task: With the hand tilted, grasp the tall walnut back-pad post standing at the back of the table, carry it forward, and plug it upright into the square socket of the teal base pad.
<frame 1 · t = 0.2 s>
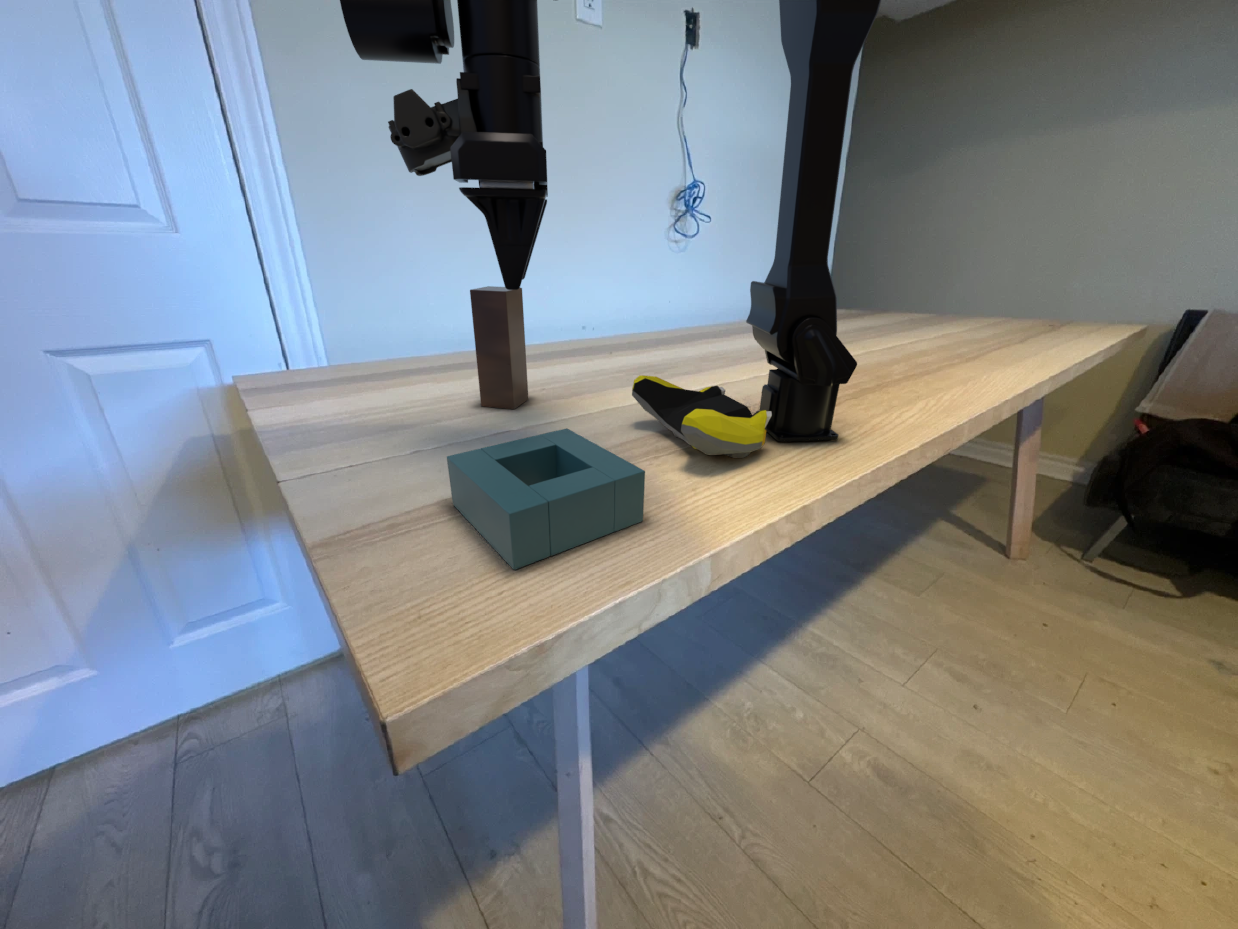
hand: (515, 283, 45), 15 cm above the table, tool pointing down, fingers open, 9 cm apart
pad post: (505, 402, 62), on the table
base pad: (545, 512, 38), on the table
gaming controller: (698, 442, 51), on the table
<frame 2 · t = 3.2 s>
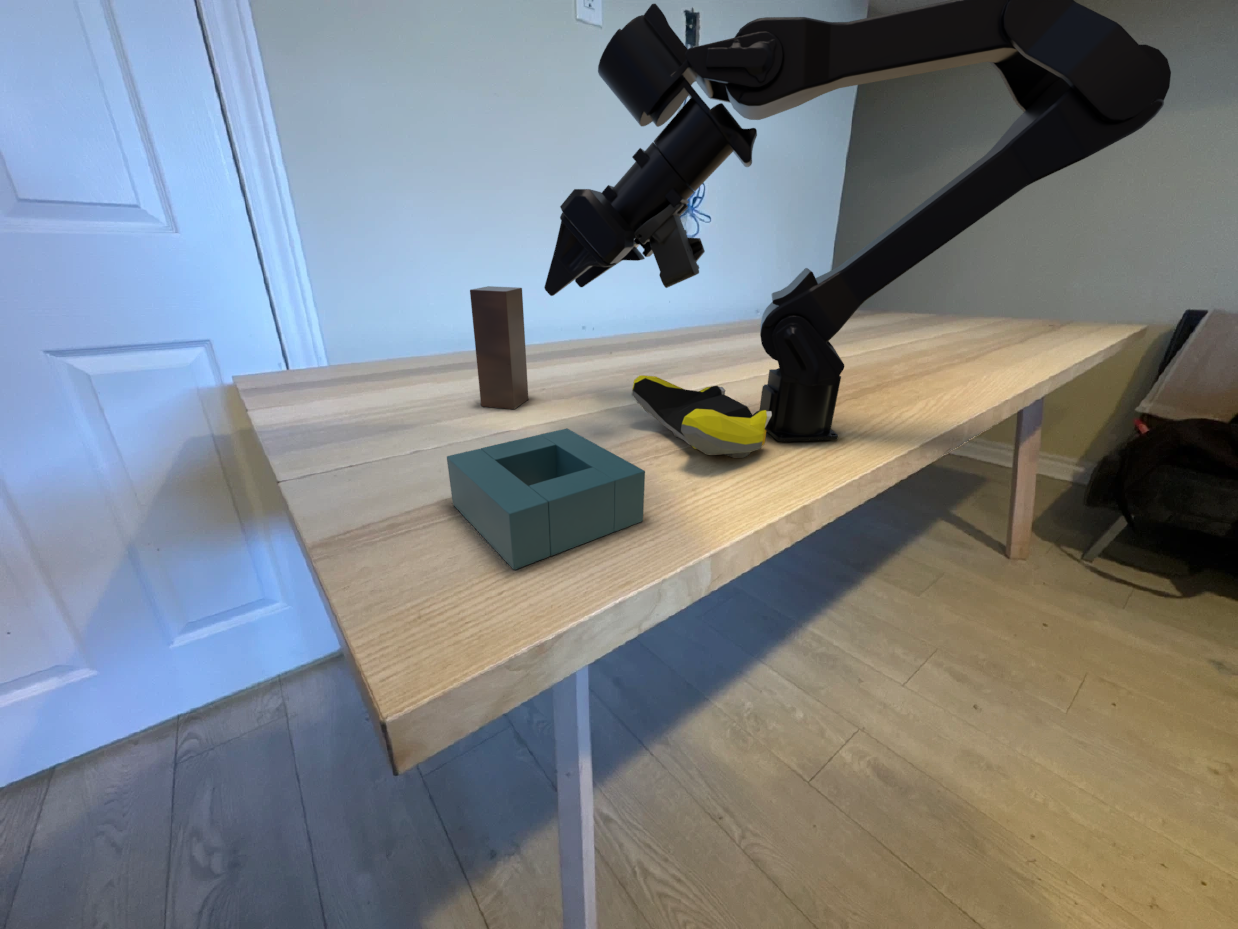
hand: (564, 288, 55), 13 cm above the table, tool tilted 45°, fingers open, 9 cm apart
nothing on the table moved.
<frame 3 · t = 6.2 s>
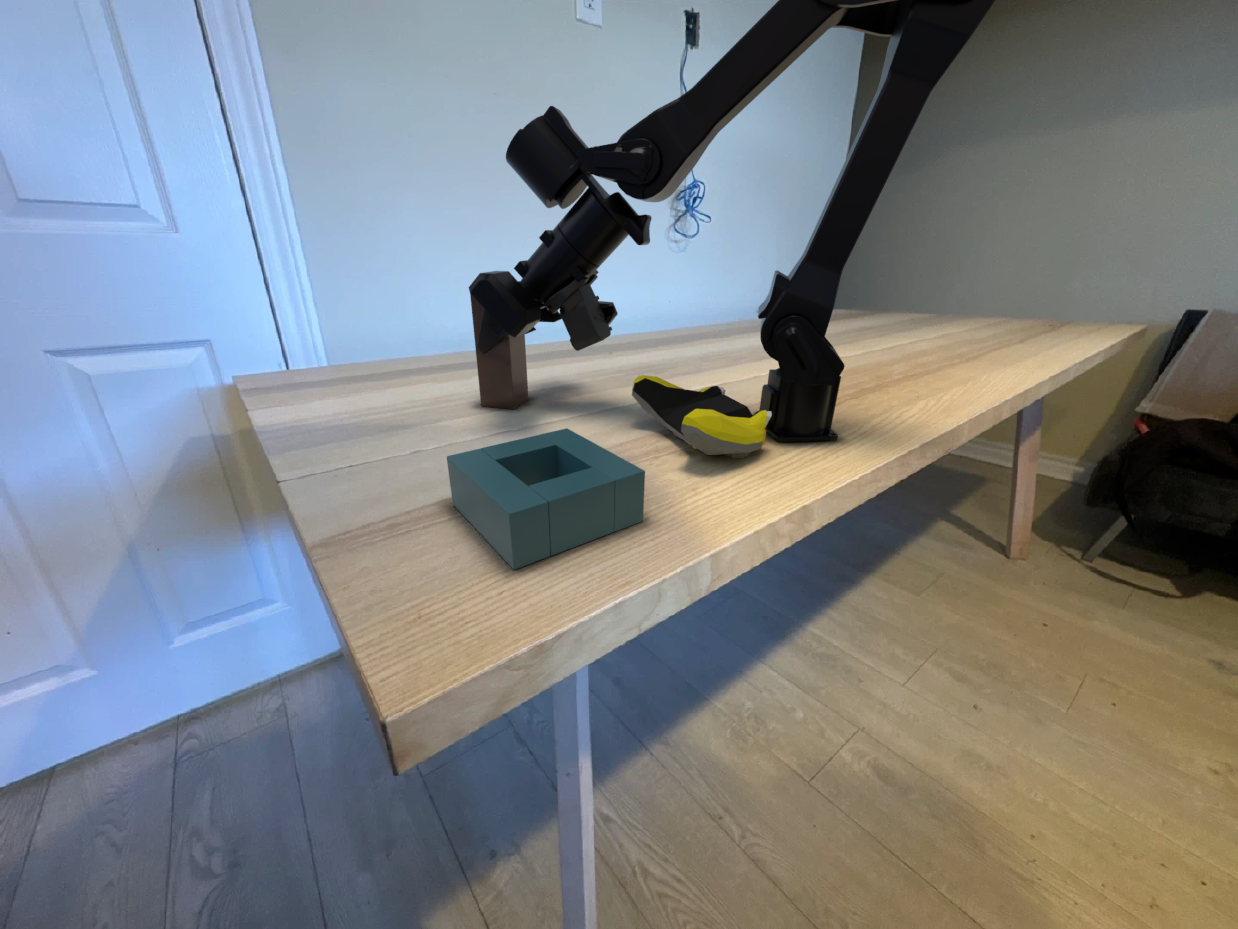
hand: (489, 346, 59), 7 cm above the table, tool tilted 45°, fingers closed on pad post, 4 cm apart
pad post: (505, 402, 62), on the table, touching gripper
everything else where it was.
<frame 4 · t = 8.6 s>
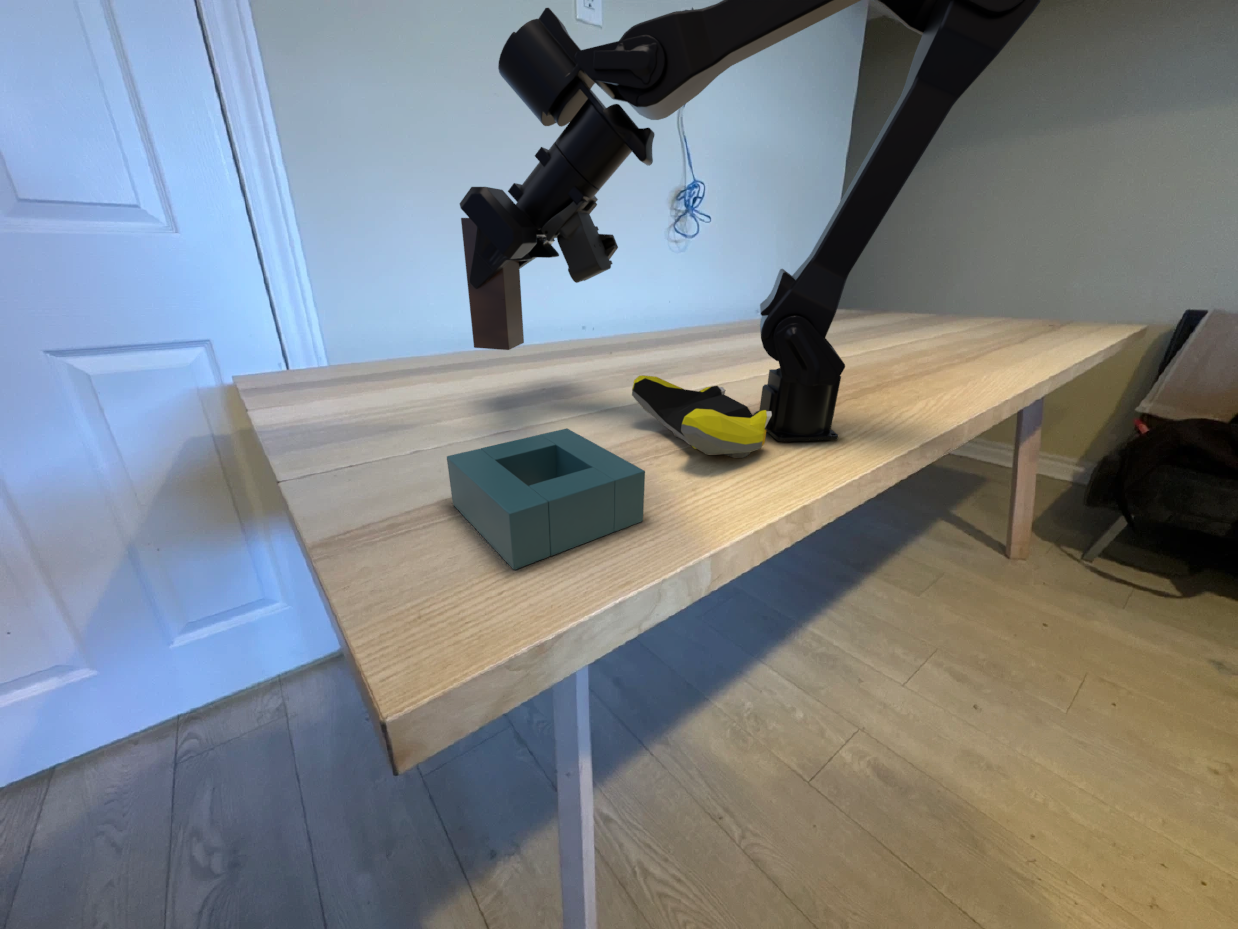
hand: (482, 283, 56), 13 cm above the table, tool tilted 45°, fingers closed on pad post, 4 cm apart
pad post: (499, 345, 58), point 7 cm above the table, touching gripper
everything else where it was.
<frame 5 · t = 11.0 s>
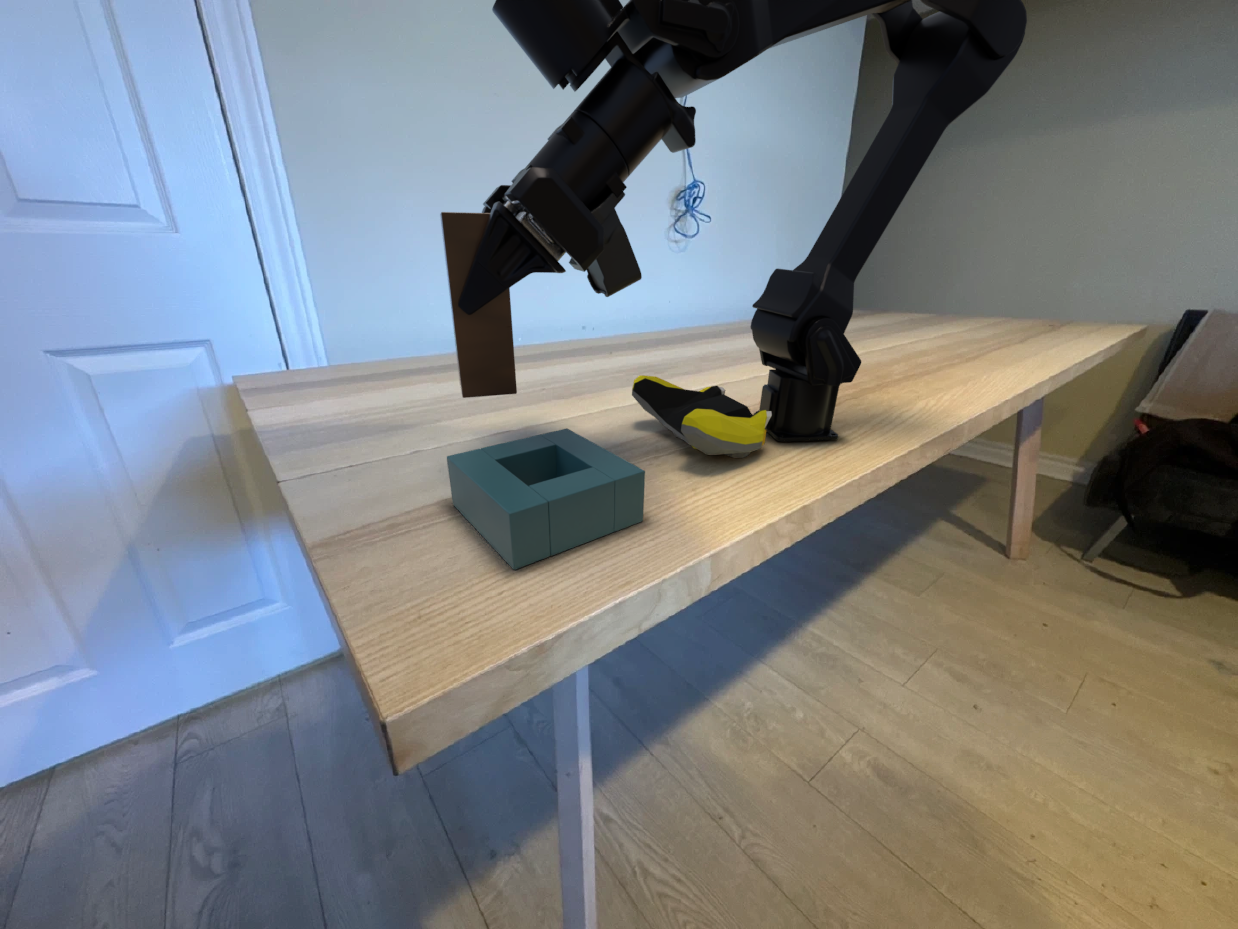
hand: (461, 306, 39), 14 cm above the table, tool tilted 45°, fingers closed on pad post, 4 cm apart
pad post: (487, 388, 42), point 7 cm above the table, touching gripper
everything else where it was.
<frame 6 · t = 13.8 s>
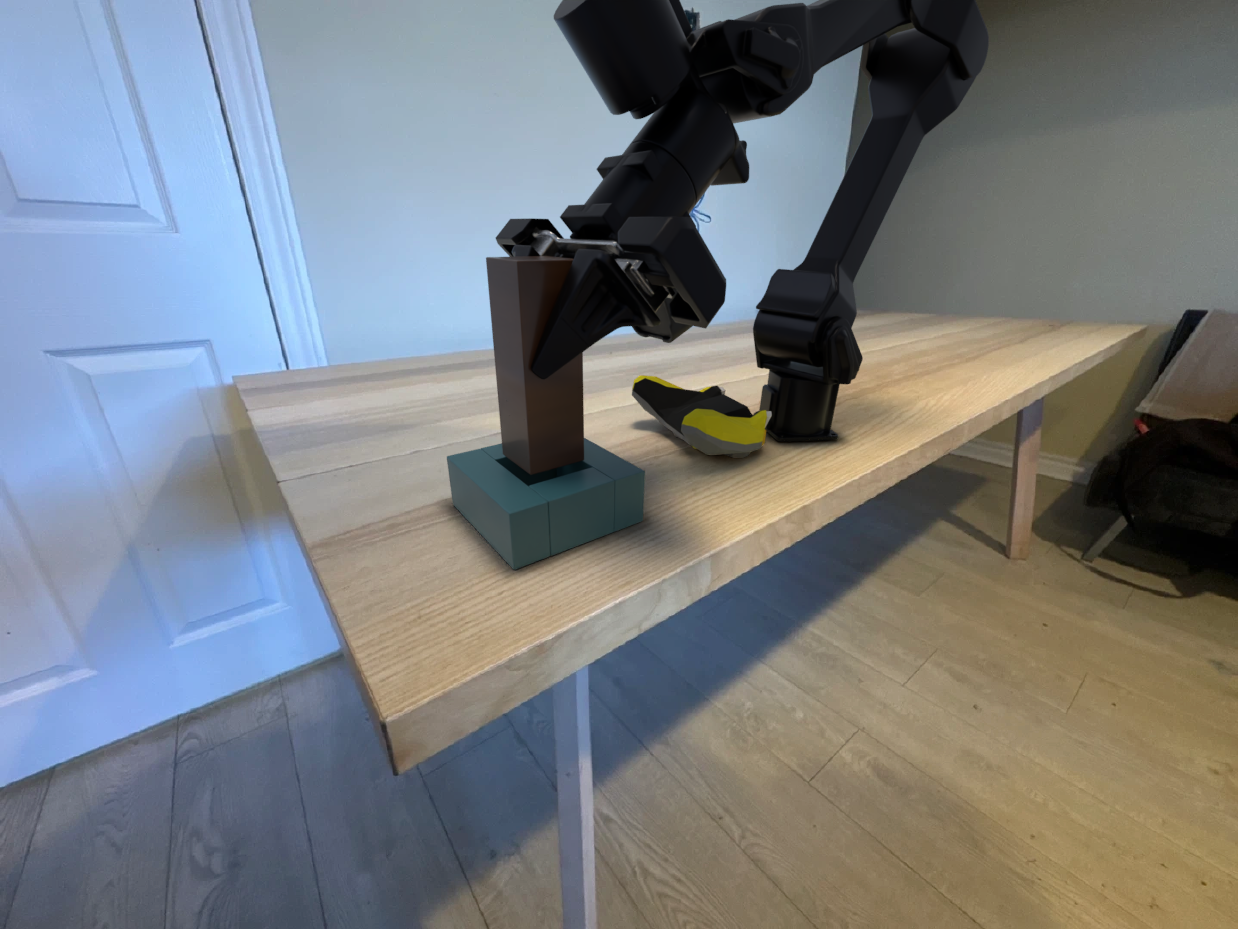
hand: (519, 367, 33), 11 cm above the table, tool tilted 45°, fingers closed on pad post, 4 cm apart
pad post: (543, 457, 36), point 4 cm above the table, touching gripper
everything else where it was.
when the fingers open (7 cm above the table, at t = 15.7 s): pad post stays where it is, resting in base pad.
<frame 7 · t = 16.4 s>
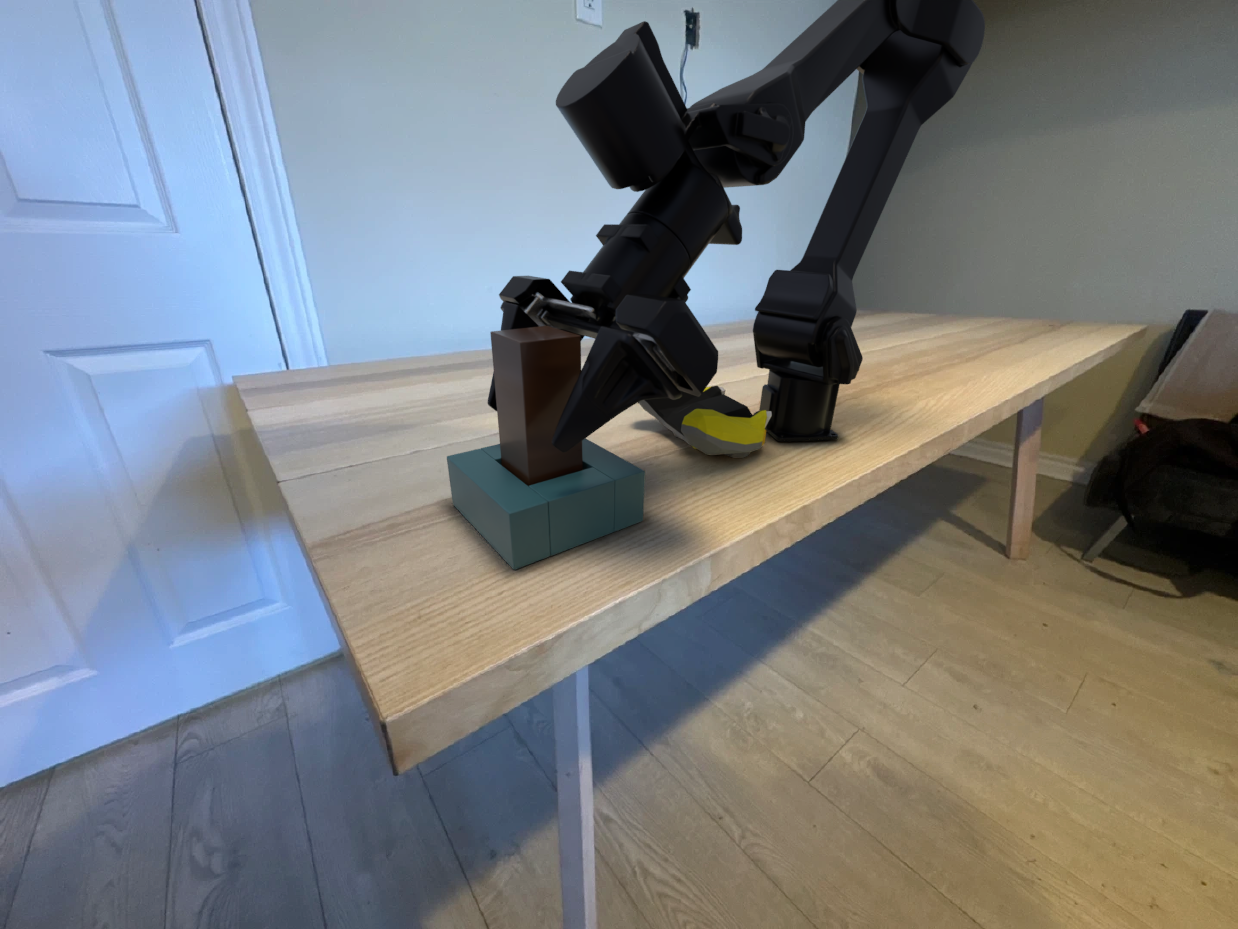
hand: (522, 426, 34), 7 cm above the table, tool tilted 45°, fingers open, 9 cm apart
pad post: (544, 512, 38), resting in base pad
everything else where it was.
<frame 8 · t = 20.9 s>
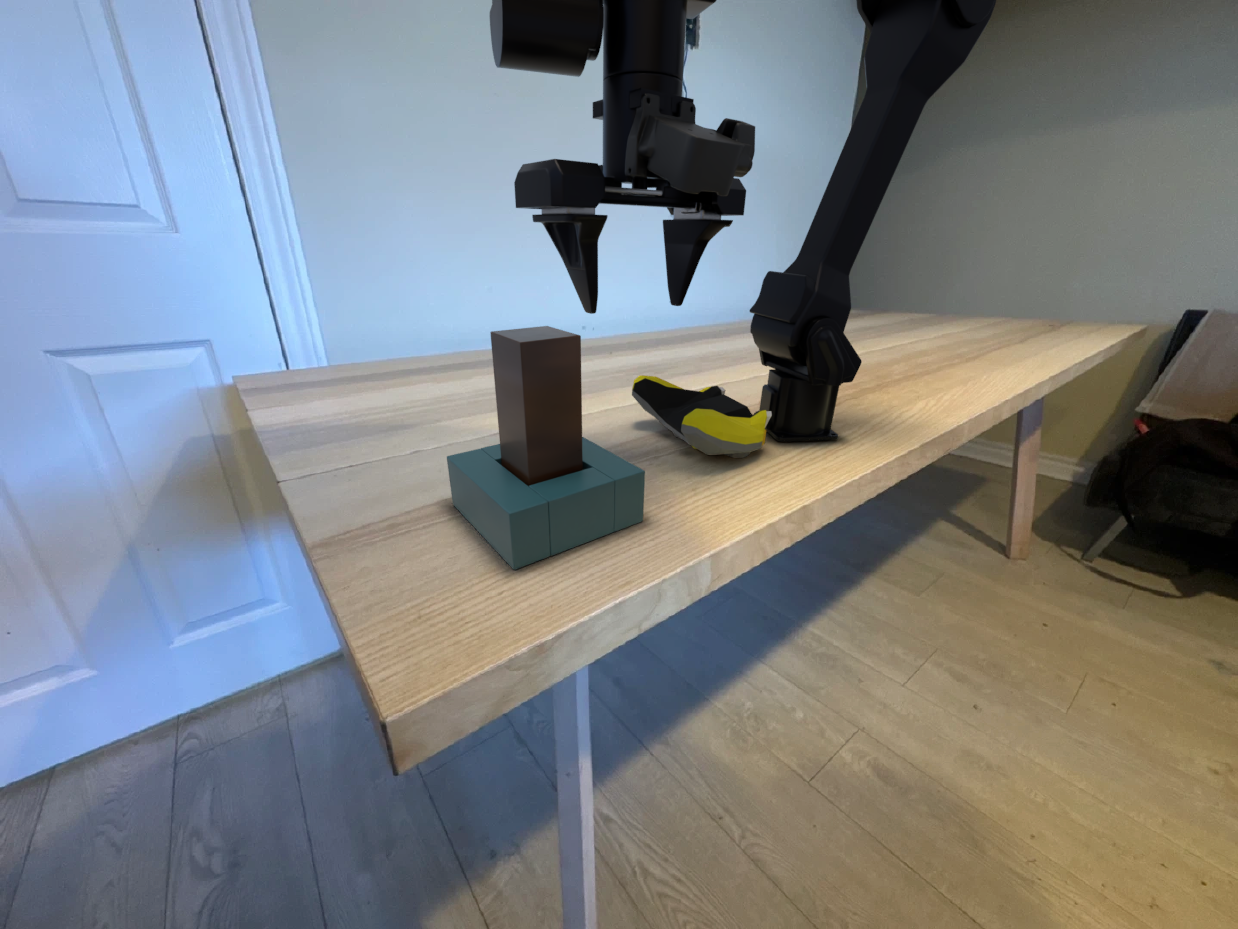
hand: (635, 309, 43), 13 cm above the table, tool pointing down, fingers open, 9 cm apart
nothing on the table moved.
at the end: pad post 0.1 cm off-centre in the base pad, point 0.0 cm above the base pad's base; pad post tilted 0°; the gripper is holding nothing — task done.
